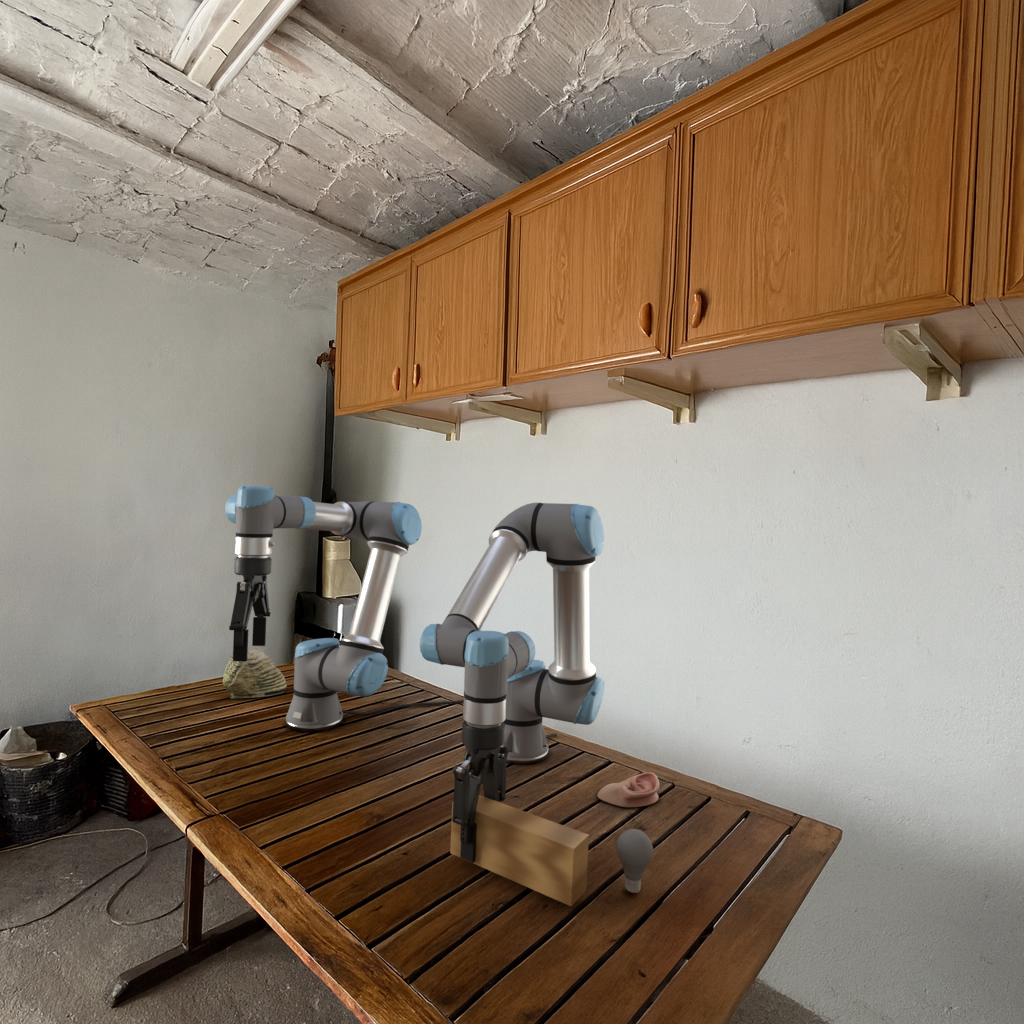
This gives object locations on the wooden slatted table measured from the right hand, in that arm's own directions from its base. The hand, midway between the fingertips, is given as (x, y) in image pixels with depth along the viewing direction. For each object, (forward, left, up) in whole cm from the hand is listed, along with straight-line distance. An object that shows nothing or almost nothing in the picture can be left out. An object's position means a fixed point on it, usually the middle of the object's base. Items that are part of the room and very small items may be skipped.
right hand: (478, 851), depth 112 cm
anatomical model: (-41, -10, -2) cm, 43 cm away
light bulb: (-20, +18, -2) cm, 27 cm away
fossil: (+27, -111, -2) cm, 114 cm away
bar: (-4, +7, -1) cm, 8 cm away
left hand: (+34, -49, +26) cm, 65 cm away
